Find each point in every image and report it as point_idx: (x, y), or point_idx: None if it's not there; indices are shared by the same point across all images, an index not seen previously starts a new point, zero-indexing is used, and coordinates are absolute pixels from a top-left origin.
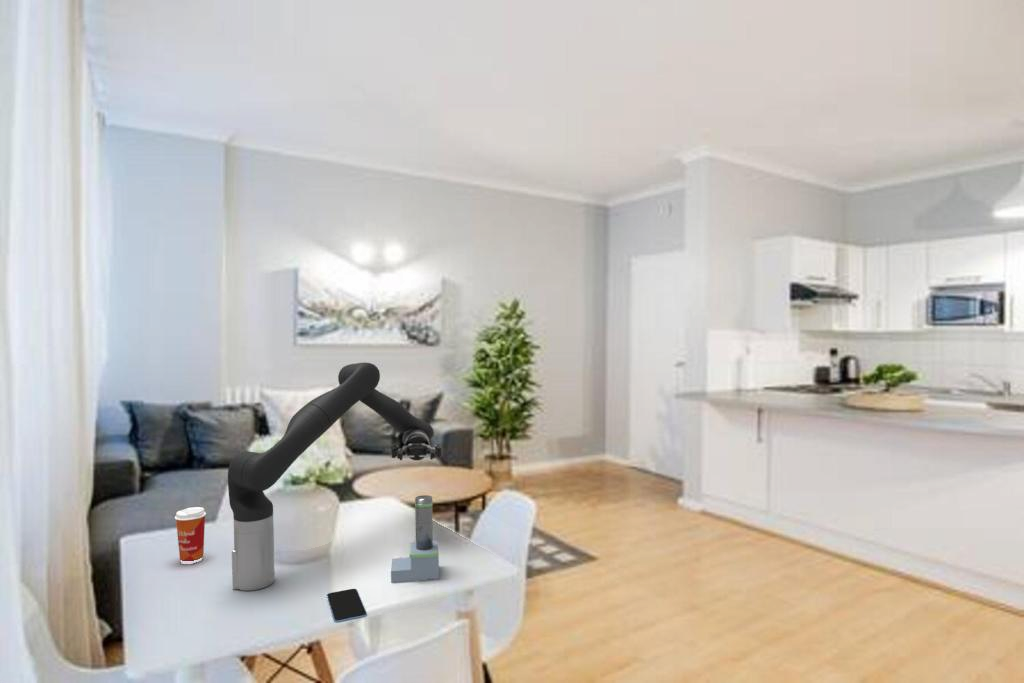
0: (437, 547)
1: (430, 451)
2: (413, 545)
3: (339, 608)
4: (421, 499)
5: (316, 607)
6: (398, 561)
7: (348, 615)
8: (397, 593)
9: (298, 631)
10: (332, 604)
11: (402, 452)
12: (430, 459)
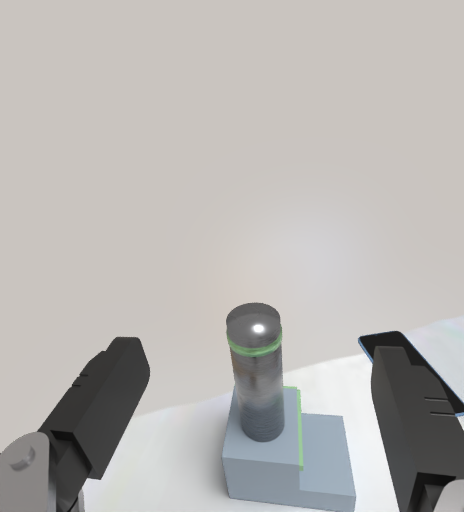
0: (231, 411)
1: (125, 348)
2: (291, 439)
3: (409, 355)
4: (261, 308)
5: (458, 372)
6: (333, 468)
7: (384, 337)
8: (320, 388)
9: (442, 323)
10: (429, 369)
11: (401, 443)
12: (148, 380)
